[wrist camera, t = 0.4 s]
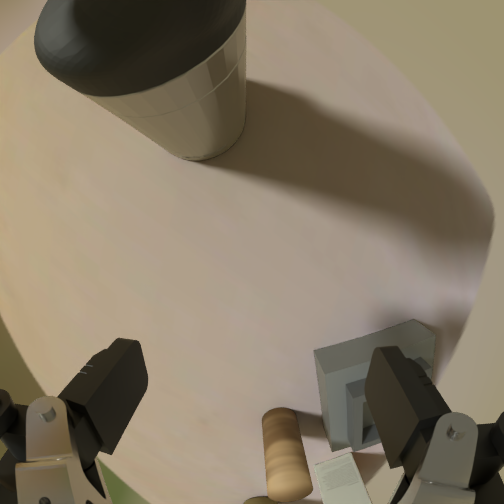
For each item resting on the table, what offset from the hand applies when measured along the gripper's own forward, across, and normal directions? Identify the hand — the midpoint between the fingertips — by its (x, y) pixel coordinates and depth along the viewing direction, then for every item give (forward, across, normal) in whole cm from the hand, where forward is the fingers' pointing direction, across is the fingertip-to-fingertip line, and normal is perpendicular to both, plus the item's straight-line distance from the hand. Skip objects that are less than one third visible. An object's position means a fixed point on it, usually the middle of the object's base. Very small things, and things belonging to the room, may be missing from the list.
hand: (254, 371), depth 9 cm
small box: (+17, -12, +36) cm, 42 cm away
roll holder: (+19, -13, +17) cm, 29 cm away
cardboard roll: (+17, -2, +22) cm, 28 cm away
